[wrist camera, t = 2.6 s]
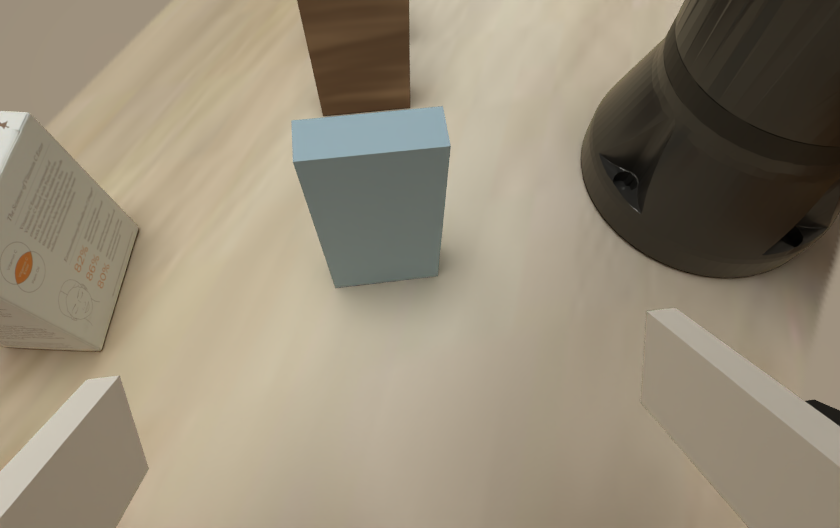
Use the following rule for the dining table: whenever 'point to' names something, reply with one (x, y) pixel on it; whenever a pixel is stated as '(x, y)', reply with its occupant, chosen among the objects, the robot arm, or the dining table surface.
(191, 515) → the dining table surface
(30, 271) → the small box
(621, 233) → the robot arm
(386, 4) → the domino
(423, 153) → the blue domino
